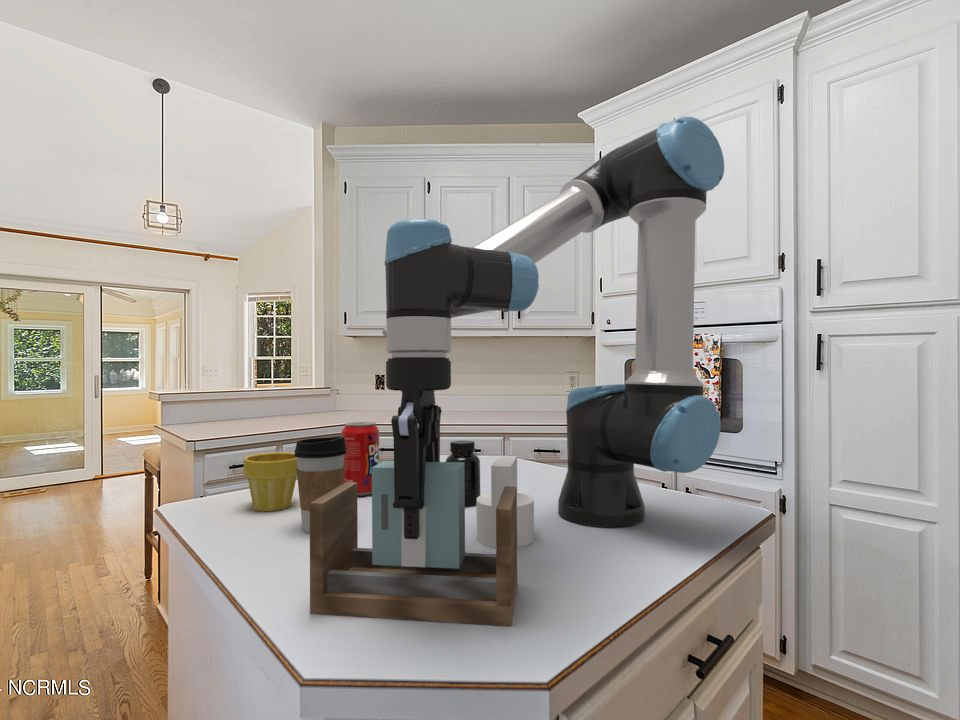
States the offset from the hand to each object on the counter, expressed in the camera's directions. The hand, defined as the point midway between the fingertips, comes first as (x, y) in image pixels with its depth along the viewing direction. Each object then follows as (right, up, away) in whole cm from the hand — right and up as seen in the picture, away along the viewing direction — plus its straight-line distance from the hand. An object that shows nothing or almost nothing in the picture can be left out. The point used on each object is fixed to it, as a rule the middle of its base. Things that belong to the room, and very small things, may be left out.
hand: (419, 557), depth 59 cm
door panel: (0, 0, 0) cm, 0 cm away
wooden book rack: (0, -5, 0) cm, 5 cm away
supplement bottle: (+4, -5, +41) cm, 41 cm away
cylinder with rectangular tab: (+11, -5, +21) cm, 24 cm away
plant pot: (-33, -6, +39) cm, 51 cm away
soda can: (-18, -6, +49) cm, 53 cm away
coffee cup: (-20, -5, +26) cm, 33 cm away
